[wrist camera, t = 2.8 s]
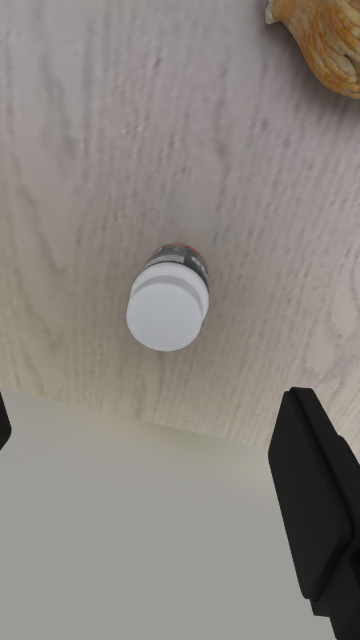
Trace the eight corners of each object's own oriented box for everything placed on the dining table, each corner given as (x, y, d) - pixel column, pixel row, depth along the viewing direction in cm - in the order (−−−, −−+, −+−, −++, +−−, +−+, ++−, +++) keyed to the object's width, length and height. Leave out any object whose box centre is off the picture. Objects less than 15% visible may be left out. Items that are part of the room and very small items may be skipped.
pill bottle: (211, 295, 23) (216, 353, 15) (155, 304, 23) (133, 363, 16) (202, 236, 21) (202, 268, 13) (140, 248, 21) (107, 285, 14)
